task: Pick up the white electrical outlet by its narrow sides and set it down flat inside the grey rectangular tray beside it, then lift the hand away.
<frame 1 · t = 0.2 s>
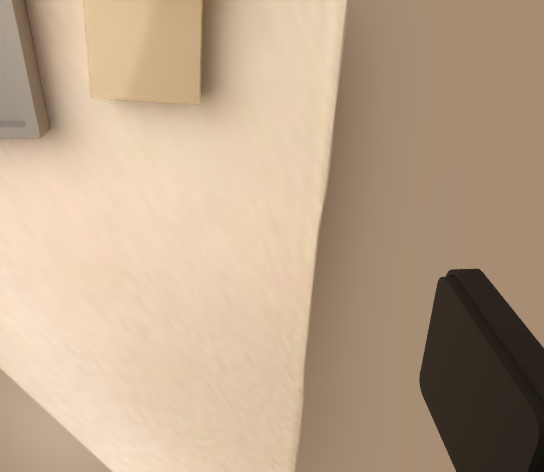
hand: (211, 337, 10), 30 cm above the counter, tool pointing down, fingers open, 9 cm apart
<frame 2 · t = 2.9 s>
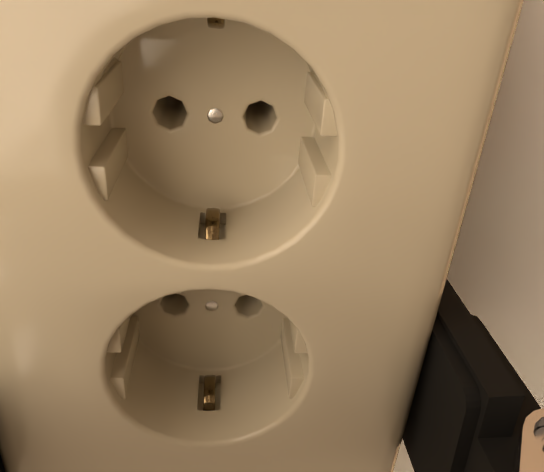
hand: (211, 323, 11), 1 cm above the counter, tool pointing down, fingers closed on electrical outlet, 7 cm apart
electrical outlet: (213, 305, 13), on the counter, touching gripper
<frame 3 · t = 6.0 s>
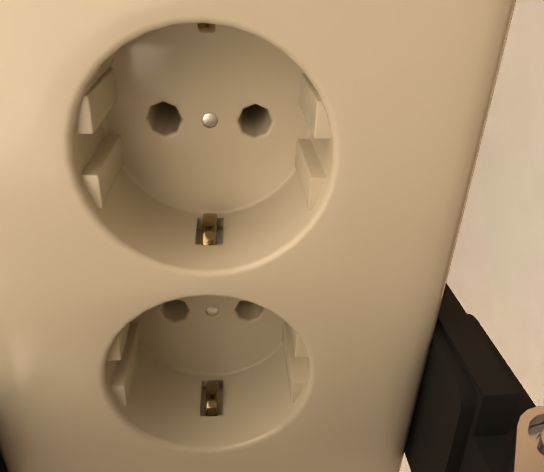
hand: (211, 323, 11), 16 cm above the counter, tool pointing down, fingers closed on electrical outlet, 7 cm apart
electrical outlet: (215, 309, 13), point 14 cm above the counter, touching gripper
when the fingers open (3 cm above the counter, at t = 9.2 s): electrical outlet drops 1 cm, resting on grey rectangular tray.
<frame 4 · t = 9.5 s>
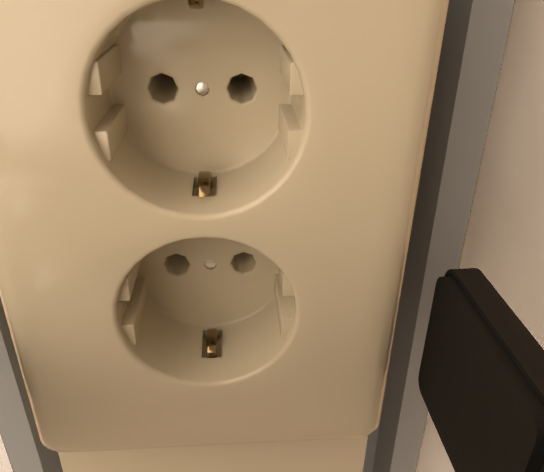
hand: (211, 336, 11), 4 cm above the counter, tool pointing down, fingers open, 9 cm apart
electrical outlet: (215, 274, 14), point 1 cm above the counter, touching grey rectangular tray
grey rectangular tray: (215, 241, 14), on the counter
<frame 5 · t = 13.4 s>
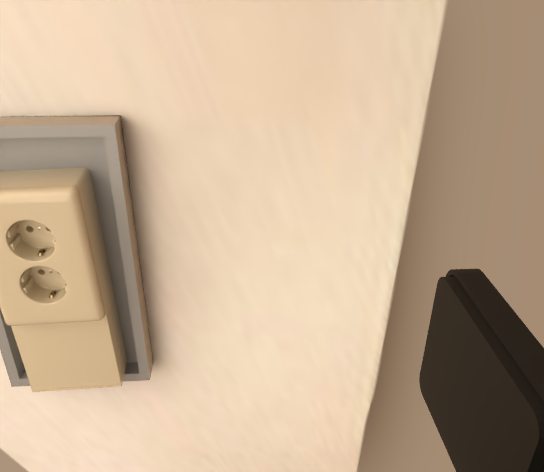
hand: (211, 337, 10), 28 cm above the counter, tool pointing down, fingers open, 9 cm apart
electrical outlet: (65, 274, 41), point 1 cm above the counter, touching grey rectangular tray
grey rectangular tray: (64, 257, 41), on the counter
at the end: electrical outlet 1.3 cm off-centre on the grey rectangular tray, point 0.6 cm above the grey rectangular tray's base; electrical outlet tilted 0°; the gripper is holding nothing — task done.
